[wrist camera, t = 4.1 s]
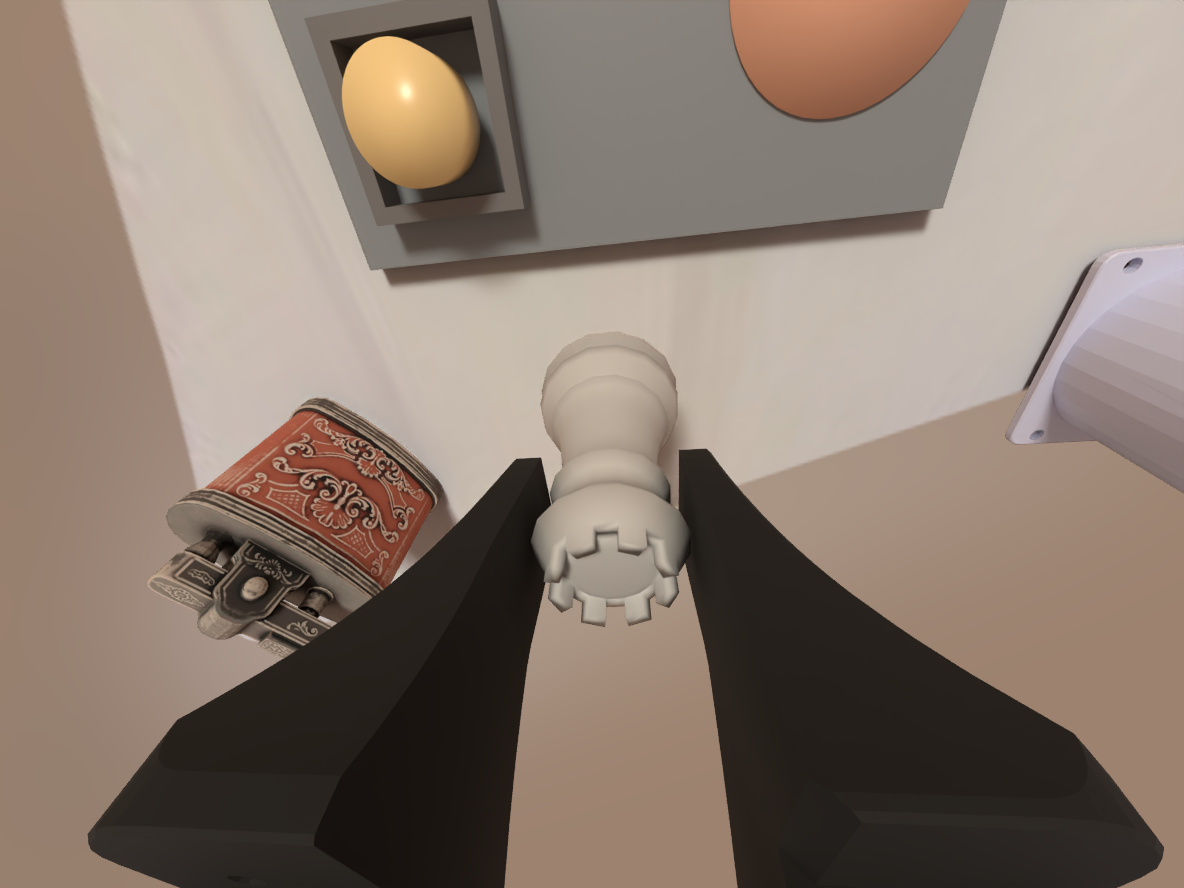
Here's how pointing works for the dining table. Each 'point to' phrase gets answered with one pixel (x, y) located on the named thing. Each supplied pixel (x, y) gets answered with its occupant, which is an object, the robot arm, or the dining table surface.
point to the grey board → (655, 115)
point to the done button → (410, 113)
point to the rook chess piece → (610, 480)
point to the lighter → (298, 529)
